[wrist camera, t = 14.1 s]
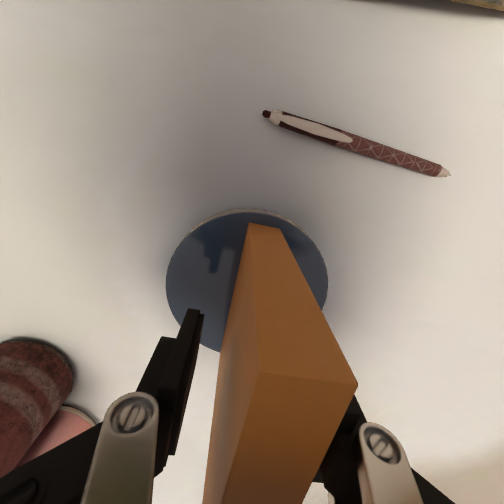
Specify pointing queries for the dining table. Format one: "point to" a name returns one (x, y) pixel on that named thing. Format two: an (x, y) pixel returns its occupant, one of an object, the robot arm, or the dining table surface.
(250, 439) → the toast
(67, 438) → the beverage can
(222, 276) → the plate
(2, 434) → the can
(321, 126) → the pen
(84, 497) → the robot arm
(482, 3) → the ceramic shard
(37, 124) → the dining table surface
